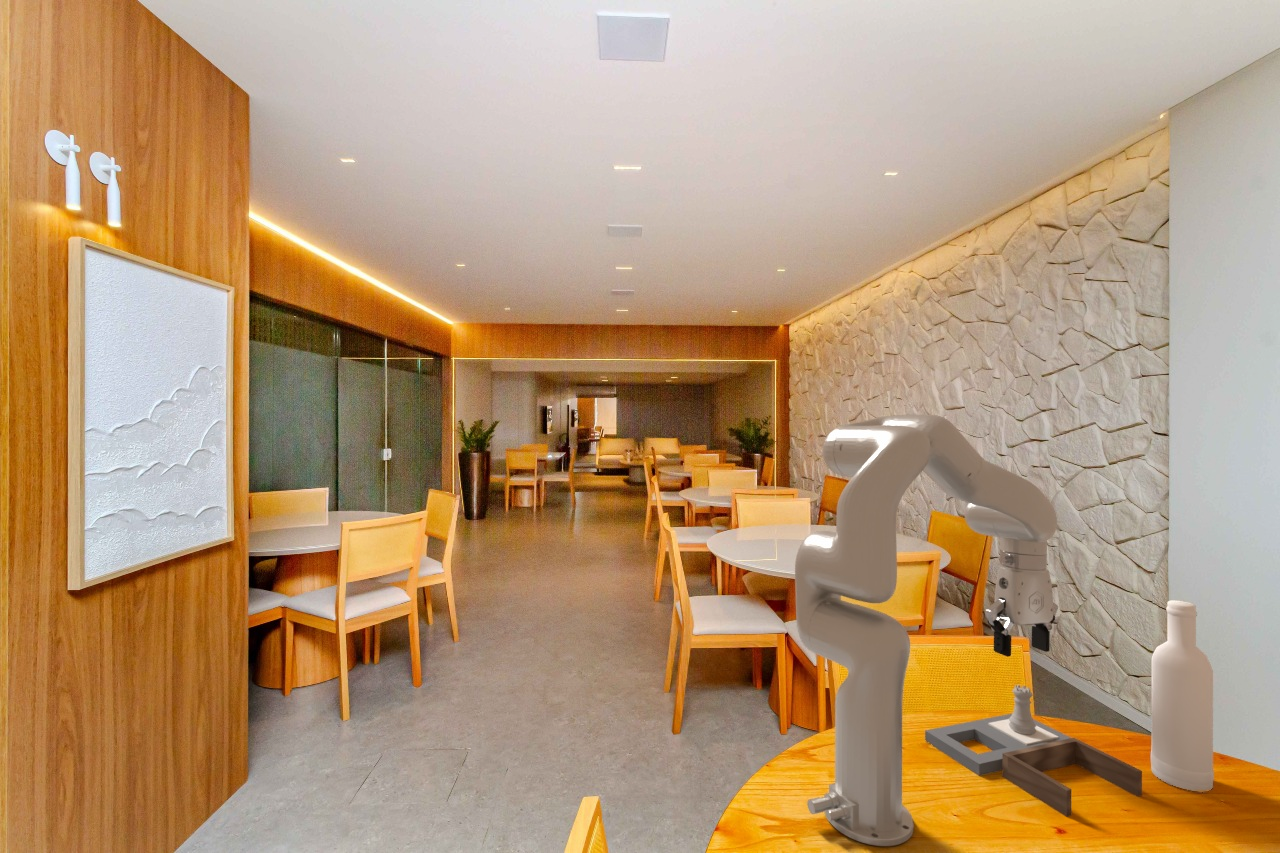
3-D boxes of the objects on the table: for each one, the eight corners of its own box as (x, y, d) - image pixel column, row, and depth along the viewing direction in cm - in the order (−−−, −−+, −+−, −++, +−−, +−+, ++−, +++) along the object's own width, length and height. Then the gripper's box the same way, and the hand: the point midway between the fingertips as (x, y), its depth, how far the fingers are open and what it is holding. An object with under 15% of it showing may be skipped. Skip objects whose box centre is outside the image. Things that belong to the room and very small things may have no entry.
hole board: (979, 775, 102) (979, 762, 102) (925, 740, 113) (925, 728, 113) (1079, 752, 110) (1079, 739, 110) (1018, 721, 121) (1019, 710, 121)
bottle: (1204, 774, 103) (1204, 600, 103) (1221, 798, 96) (1221, 612, 96) (1144, 761, 107) (1145, 594, 107) (1157, 784, 100) (1157, 605, 100)
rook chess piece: (1040, 737, 111) (1040, 694, 111) (1014, 734, 112) (1014, 691, 112) (1030, 725, 115) (1030, 684, 115) (1004, 723, 116) (1004, 681, 116)
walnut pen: (1066, 816, 91) (1066, 790, 91) (1002, 776, 102) (1002, 753, 102) (1141, 795, 97) (1142, 770, 97) (1073, 759, 107) (1073, 737, 107)
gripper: (1006, 567, 107) (1005, 663, 107) (1075, 563, 113) (1074, 654, 112) (971, 559, 114) (969, 649, 114) (1037, 555, 120) (1036, 641, 120)
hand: (1021, 651), depth 113 cm, fingers open, 9 cm apart
